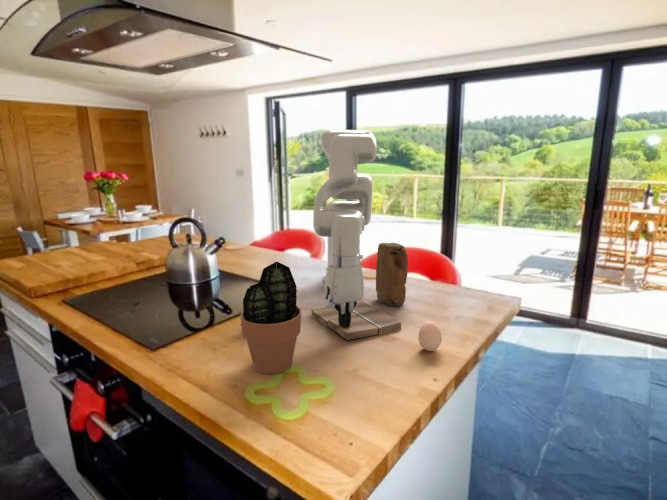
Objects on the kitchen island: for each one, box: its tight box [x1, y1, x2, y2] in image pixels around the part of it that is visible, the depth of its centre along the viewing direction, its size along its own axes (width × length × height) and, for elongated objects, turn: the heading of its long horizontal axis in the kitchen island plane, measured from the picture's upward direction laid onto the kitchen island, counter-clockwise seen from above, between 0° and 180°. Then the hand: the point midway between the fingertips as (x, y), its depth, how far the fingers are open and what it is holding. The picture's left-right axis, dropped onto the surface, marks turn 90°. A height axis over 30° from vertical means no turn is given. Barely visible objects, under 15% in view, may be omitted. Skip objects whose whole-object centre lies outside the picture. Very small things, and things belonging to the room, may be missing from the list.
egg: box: [417, 321, 443, 352], centre depth 98 cm, size 6×6×8 cm
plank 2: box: [328, 315, 379, 341], centre depth 108 cm, size 10×10×2 cm
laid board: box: [344, 300, 402, 335], centre depth 118 cm, size 21×8×2 cm, turn 30°
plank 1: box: [310, 306, 356, 329], centre depth 117 cm, size 10×10×2 cm
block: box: [375, 242, 409, 307], centre depth 129 cm, size 11×8×20 cm
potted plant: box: [240, 261, 302, 375], centre depth 88 cm, size 14×14×25 cm
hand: (344, 325), depth 106 cm, fingers closed
